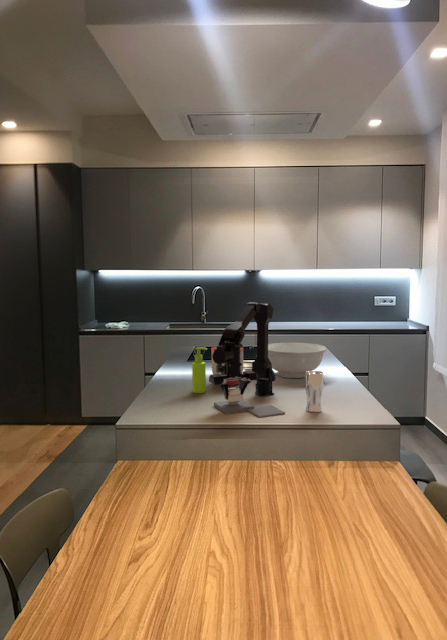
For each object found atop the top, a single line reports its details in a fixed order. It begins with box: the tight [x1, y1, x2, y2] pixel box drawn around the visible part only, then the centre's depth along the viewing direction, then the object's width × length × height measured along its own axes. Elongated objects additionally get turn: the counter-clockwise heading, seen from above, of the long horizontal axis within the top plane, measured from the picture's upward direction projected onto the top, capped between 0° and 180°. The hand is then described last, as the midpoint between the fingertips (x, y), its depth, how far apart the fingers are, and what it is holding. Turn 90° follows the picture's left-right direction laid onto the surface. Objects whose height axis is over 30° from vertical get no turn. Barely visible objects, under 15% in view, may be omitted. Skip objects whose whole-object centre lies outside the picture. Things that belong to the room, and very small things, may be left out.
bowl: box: [268, 342, 327, 379], centre depth 258 cm, size 32×32×15 cm
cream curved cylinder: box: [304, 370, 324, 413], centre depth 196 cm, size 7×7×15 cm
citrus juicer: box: [210, 345, 244, 387], centre depth 243 cm, size 16×17×20 cm
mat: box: [247, 404, 286, 419], centre depth 196 cm, size 11×11×1 cm
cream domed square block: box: [223, 387, 244, 402], centre depth 201 cm, size 6×6×4 cm
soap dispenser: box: [191, 346, 208, 394], centre depth 227 cm, size 6×7×20 cm
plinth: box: [213, 399, 255, 415], centre depth 201 cm, size 12×12×6 cm
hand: (233, 398), depth 201 cm, fingers closed on cream domed square block, 6 cm apart
